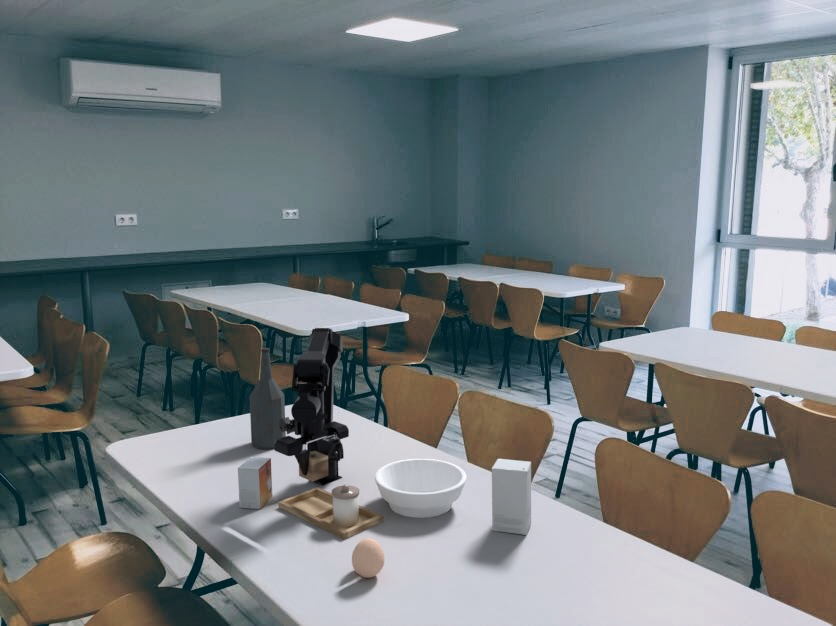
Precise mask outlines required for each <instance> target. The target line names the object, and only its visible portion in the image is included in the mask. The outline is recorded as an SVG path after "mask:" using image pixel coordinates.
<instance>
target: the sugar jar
mask: <svg viewBox="0 0 836 626" xmlns="http://www.w3.org/2000/svg"><path fill="white" fill-rule="evenodd" d="M331 493H332V496H333V524H334V525H336V526H338V527H352V526H355V525H357V524H358V522H359V505H360V503H359V501H360V499H359V495H360V488H359V487H357V486H354V485H348V484H343V485H337V486H336V487H334V488H332V490H331Z"/></svg>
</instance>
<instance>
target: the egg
mask: <svg viewBox="0 0 836 626" xmlns="http://www.w3.org/2000/svg"><path fill="white" fill-rule="evenodd" d="M385 560H386V559H385V552H384V550H383V547H382V546H381V545H380V543H379V542H378V541H376V540H375V539H374V538H369V537H367V538H364V539H362V540H360V541H359V542H358V543H357V544H356V545H355V547H354V549H353V550H352V555H351V564H352V567H353V570H354V571H355V572H356V573H357V574H358V575H359V576H361V577H363V578H365V579H366V578H368V579H370V578H374V577H376V576H377V575H378V574H380V572H381V571H382V570H383V567H384V565H385Z"/></svg>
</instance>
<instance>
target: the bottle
mask: <svg viewBox="0 0 836 626" xmlns="http://www.w3.org/2000/svg"><path fill="white" fill-rule="evenodd" d="M260 358H261V360H260V373H259V380H258V381H257V383H256V385H255V386H254V388H253V390H252V391H251V394H249V414H250V416H249V417H250V419H249V420H250V438H251V439H250V440H251V444H252V446H253V448H256V449H259V450H275V447H274V444H275V441H276V440H277V439H280V438H283V437H286V436H287V432H286V431H285V432H281V430H280V427H279V420H280V419H282V418H286V410H285V409H286V403H285V394H284V392H283V391H282V389H281V388H280V387H279V385H278V384H277V382H276V380H275V379H274V378H273V371H272V364H271V357H270V348H269V347H262V348H261V357H260Z"/></svg>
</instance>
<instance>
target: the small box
mask: <svg viewBox="0 0 836 626" xmlns="http://www.w3.org/2000/svg"><path fill="white" fill-rule="evenodd" d="M237 479H238V481H237V482H238V499H239V500H238V502H239V508H240V509H241V508H242V509H251V510H261V509H262V508H263V507H264V505H266V504H267V503H268V501H270V500H271V499H272V498H273V483H272V482H273V479H272V458H270V457H262V456H250V457H249V458H248V459H247V460H245V462H243V463H242V464H241V465H240V466H239V467H237Z"/></svg>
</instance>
